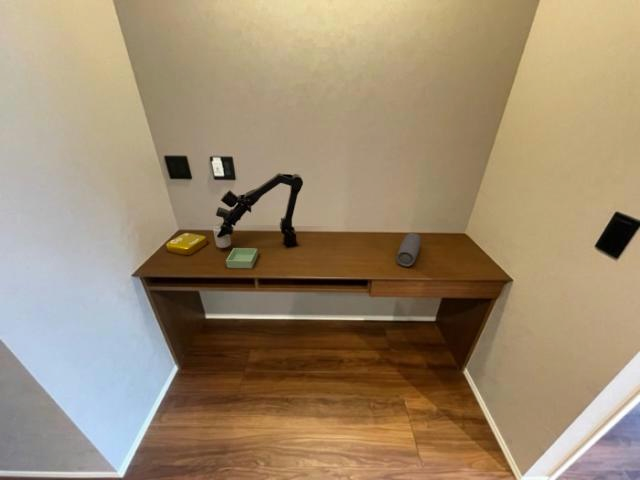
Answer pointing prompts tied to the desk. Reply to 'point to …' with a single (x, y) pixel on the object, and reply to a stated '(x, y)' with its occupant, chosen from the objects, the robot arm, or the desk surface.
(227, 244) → the can
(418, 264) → the desk surface
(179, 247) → the element tile
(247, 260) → the tray
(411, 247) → the bluetooth speaker
